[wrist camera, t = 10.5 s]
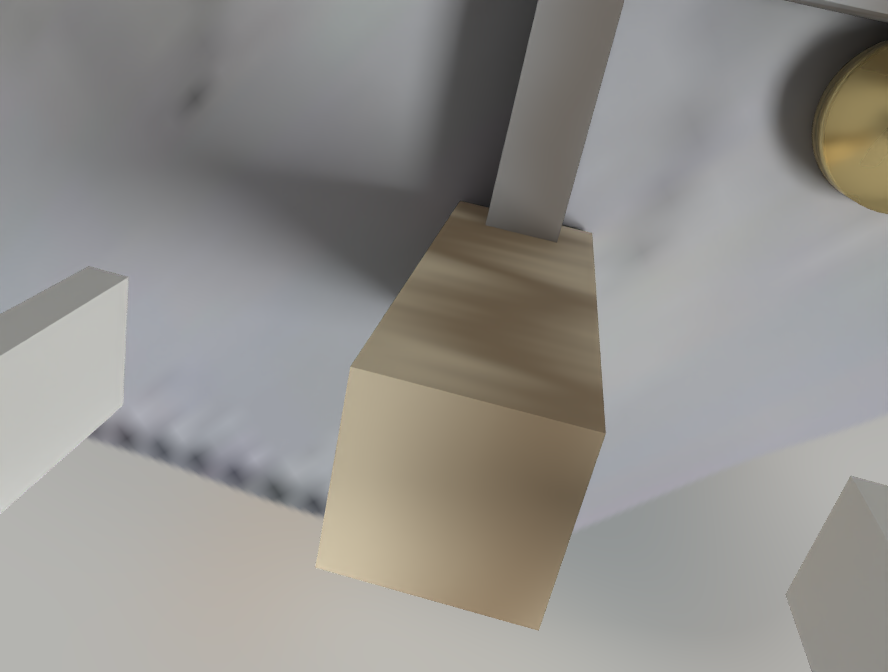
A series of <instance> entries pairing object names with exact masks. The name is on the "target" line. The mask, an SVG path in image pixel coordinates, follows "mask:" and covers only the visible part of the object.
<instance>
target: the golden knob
mask: <svg viewBox="0 0 888 672" xmlns="http://www.w3.org/2000/svg"><path fill="white" fill-rule="evenodd" d="M812 147H813V152H814V156H815V159H816V162H817V164H818V167H819V169H820V170H821V172H822V174H823V175H824V177H825V178H826V179H827V180H828V182H829V183H830V184H831V185H832V186H833V187H834V188H835V189H837V190H838V191H839V192H841V193H842V194H844V195H845V196H847V197H848V198H850V199H852V200H853V201H855V202H857V203H858V204H860V205H862V206H864V207H866V208H868V209H871V210H874V211H877V212H880V213H885V214H888V40H886V41H883V42H880V43H878V44H876V45H874V46H872V47H870V48H868V49H866V50H865V51H863V52H862V53H860V54H858V55H857V56H856V57H854V58H853V59H852V60H851V61H849V62H848V63H847V64H846V65H845V66H844V67H843V68H842V69H841V70H840V71H839V72H838V73H837V74H836V75H835V77H834V78H833V79H832V80H831V82H830V83H829V85H828V86H827V88H826V89H825V91H824V93H823V95H822V97H821V99H820V101H819V103H818V106H817V109H816V112H815V115H814V120H813V125H812Z"/></svg>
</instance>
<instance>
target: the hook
mask: <svg viewBox="0 0 888 672" xmlns="http://www.w3.org/2000/svg"><path fill="white" fill-rule="evenodd" d="M786 1H790V2H795V3H799V4H804V5H809V6H813V7H818V8H822V9H827V10H831V11H836V12H840V13H845V14H849V15H854V16H859V17H863V18H868V19H872V20H877V21H881V22H886V23H888V0H786ZM623 3H624V0H538V3H537V7H536V12H535V16H534V20H533V24H532V29H531V33H530V37H529V41H528V46H527V50H526V54H525V58H524V63H523V67H522V71H521V75H520V80H519V84H518V88H517V92H516V97H515V101H514V105H513V109H512V114H511V118H510V122H509V127H508V131H507V135H506V139H505V144H504V148H503V152H502V156H501V161H500V165H499V169H498V173H497V178H496V182H495V186H494V190H493V195H492V199H491V203H490V207H489V208H487V207H483V206H479V205H475V204H471V203H467V202H463V201H460V202H459V203H458V205H457V206H456V208H455V209H454V211H453V212H452V214H451V215H450V217H449V218H448V220H447V221H446V223H445V224H444V226H443V227H442V229H441V230H440V232H439V233H438V235H437V236H436V238H435V239H434V241H433V243H432V244H431V246H430V247H429V249H428V250H427V252H426V253H425V255H424V256H423V258H422V259H421V261H420V262H419V264H418V265H417V267H416V268H415V270H414V271H413V273H412V274H411V276H410V277H409V279H408V280H407V282H406V283H405V285H404V286H403V288H402V289H401V291H400V292H399V294H398V295H397V297H396V298H395V300H394V301H393V303H392V304H391V306H390V308H389V309H388V311H387V312H386V314H385V315H384V317H383V318H382V320H381V321H380V323H379V324H378V326H377V327H376V329H375V330H374V332H373V333H372V335H371V336H370V338H369V339H368V341H367V342H366V344H365V345H364V347H363V348H362V350H361V351H360V353H359V354H358V356H357V357H356V359H355V360H354V362H353V363H352V365H351V366H350V372H349V378H348V383H347V389H346V395H345V401H344V406H343V412H342V418H341V424H340V429H339V435H338V441H337V447H336V452H335V458H334V464H333V469H332V475H331V481H330V487H329V492H328V498H327V504H326V510H325V515H324V521H323V527H322V533H321V538H320V544H319V550H318V555H317V561H316V568H318V569H322V570H325V571H329V572H332V573H336V574H339V575H343V576H347V577H350V578H354V579H357V580H361V581H364V582H368V583H371V584H375V585H379V586H382V587H386V588H389V589H393V590H396V591H400V592H403V593H407V594H410V595H414V596H418V597H422V598H425V599H428V600H432V601H435V602H439V603H442V604H446V605H450V606H453V607H457V608H460V609H464V610H467V611H471V612H474V613H478V614H482V615H485V616H489V617H492V618H496V619H499V620H503V621H506V622H510V623H514V624H517V625H521V626H524V627H528V628H531V629H535V630H539V628H540V625H541V622H542V619H543V616H544V613H545V611H546V608H547V604H548V601H549V599H550V596H551V593H552V590H553V587H554V584H555V581H556V578H557V575H558V572H559V569H560V566H561V563H562V561H563V558H564V555H565V552H566V549H567V546H568V543H569V540H570V537H571V534H572V531H573V528H574V525H575V522H576V519H577V516H578V513H579V510H580V508H581V505H582V502H583V499H584V496H585V493H586V490H587V487H588V484H589V481H590V478H591V475H592V472H593V469H594V466H595V463H596V460H597V458H598V455H599V452H600V449H601V446H602V443H603V440H604V437H605V434H606V431H605V416H604V401H603V387H602V372H601V357H600V342H599V328H598V313H597V298H596V283H595V269H594V254H593V239H592V233H590V232H585V231H581V230H577V229H573V228H569V227H565V226H562V223H563V220H564V216H565V213H566V209H567V205H568V202H569V198H570V195H571V191H572V187H573V184H574V180H575V176H576V173H577V169H578V166H579V162H580V158H581V155H582V151H583V148H584V144H585V140H586V137H587V133H588V130H589V126H590V122H591V119H592V115H593V111H594V108H595V104H596V101H597V97H598V93H599V90H600V86H601V83H602V79H603V75H604V72H605V68H606V65H607V61H608V57H609V54H610V50H611V47H612V43H613V39H614V36H615V32H616V28H617V25H618V21H619V18H620V14H621V10H622V7H623Z"/></svg>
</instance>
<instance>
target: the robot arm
mask: <svg viewBox="0 0 888 672" xmlns="http://www.w3.org/2000/svg"><path fill="white" fill-rule="evenodd" d="M128 278H129V277H126V276H123V275H119V274H115V273H112V272H108V271H105V270H101V269H97V268H94V267H90V266H88V267H86V268H85V269H83V270H81V271H79V272H77V273H75V274H73V275H72V276H70V277H68V278H66V279H64V280H62V281H61V282H59V283H57V284H55V285H53V286H51V287H50V288H48V289H46V290H44V291H42V292H40V293H38V294H37V295H35V296H33V297H31V298H29V299H27V300H26V301H24V302H22V303H20V304H18V305H16V306H15V307H13V308H11V309H9V310H7V311H5V312H3V313H2V314H0V514H1V513H2V512H3V511H4V510H6V509H7V508H8V507H9V506H10V505H11V504H12V503H13V502H15V501H16V500H17V499H18V498H19V497H20V496H21V495H23V494H24V493H25V492H26V491H27V490H28V489H29V488H30V487H32V486H33V485H34V484H35V483H36V482H37V481H38V480H39V479H41V478H42V477H43V476H44V475H45V474H46V473H47V472H48V471H50V470H51V469H52V468H53V467H54V466H55V465H56V464H58V463H59V462H60V461H61V460H62V459H63V458H64V457H65V456H66V455H68V454H69V453H70V452H71V451H72V450H73V449H74V448H76V447H77V446H78V445H79V444H80V443H81V442H82V441H83V440H85V439H86V438H87V437H88V436H89V435H90V434H91V433H92V432H94V431H95V430H96V429H97V428H98V427H99V426H100V425H101V424H103V423H104V422H105V421H106V420H107V419H108V418H109V417H111V416H112V415H113V414H114V413H115V412H116V411H117V410H118V409H120V408H121V407H122V406H123V393H124V370H125V347H126V324H127V301H128ZM786 597H787V600H788V603H789V606H790V609H791V612H792V615H793V618H794V621H795V624H796V627H797V630H798V633H799V635H800V638H801V641H802V644H803V647H804V650H805V653H806V656H807V659H808V662H809V665H810V668H811V671H812V672H888V486H886V485H883V484H879V483H875V482H872V481H868V480H865V479H861V478H857V477H854V476H850V478H849V480H848V482H847V484H846V485H845V487H844V489H843V491H842V492H841V494H840V496H839V498H838V500H837V502H836V503H835V505H834V507H833V509H832V511H831V513H830V514H829V516H828V518H827V520H826V522H825V523H824V525H823V527H822V529H821V531H820V533H819V535H818V537H817V538H816V540H815V542H814V544H813V545H812V547H811V549H810V551H809V553H808V555H807V556H806V558H805V560H804V562H803V564H802V565H801V567H800V569H799V571H798V573H797V575H796V577H795V578H794V580H793V582H792V584H791V586H790V587H789V589H788V591H787V593H786Z"/></svg>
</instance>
